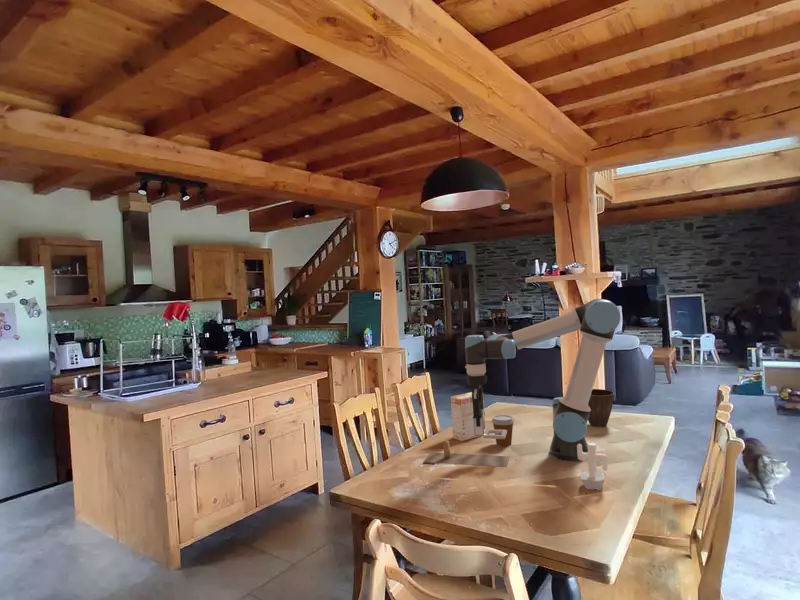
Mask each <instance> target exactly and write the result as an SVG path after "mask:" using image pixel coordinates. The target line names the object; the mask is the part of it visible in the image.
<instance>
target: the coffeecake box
mask: <svg viewBox="0 0 800 600" xmlns="http://www.w3.org/2000/svg"><path fill="white" fill-rule="evenodd" d="M484 396H485V395H484V393H483V407H484V408H485V397H484ZM450 411H451V412H450V415H451V430H452V431H451V433H452V439H454V440H458V441H460V442H463V441H467V440H472V439H473V438H474V439H475V438H478V437H479V436H474V424H473V401H472V391H471V392H466V393H462V394H457V395H453V396H450ZM484 413H485V415H484V419H485V420H486V418H485V416H486V412H485V411H484Z"/></svg>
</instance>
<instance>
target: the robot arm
mask: <svg viewBox="0 0 800 600" xmlns="http://www.w3.org/2000/svg"><path fill="white" fill-rule="evenodd" d="M620 322H621V311H620V309H619V308H618V306H617V304H615V303H614V302H612V301H611V300H608V299H604V298H596V299H592V300H589V301H588V302H586V303H584V304H582V305H579V306H577V307H574V308H573V309H572V311H570V312H567V313H565V314H561V315H558V316H556V317H555V316H554V317H553V318H550V319H547V320H544V321H541V322H537V323H535V324H532V325H529V326H527V327H523V328H521V329H518V330H515V331H513V332H510V333H507V334H501V335H499V336H497V337H496V338H495V339H485V338H484V335H483V334H472V335H471V334H470V335H467V336H465V338H464V345H465V346H464V351H465V363H466V364H465V366H464V368H465V369H466V374H467V375H466V379H467V380H466V381H467V382H466V383H467V385H469V386H472V389H471V392H472V401H473V413H474V417H473V418H475V430H476V434H479V435H483V428H482V418H481V409H484V410H485V406H484V407H483V394H484V388H483V387H482V386H484V385H486V384H487V375H486V373H487V367H486V360H503V359H504V360H508V359H514V358H516V353H517V351H518V350H522V349H525V348H527V347H531V346H533V345H536V344H540V343H542V342H546V341H548V340H552V339H554V338H558V337H560V336H564V335H568V334H571V333H573V332H576V331H579V332H580V333H581V336H582V337H581V340H580V343H579V347H578V350H577V354H576V357H575V361H574V364H573V367H572V371H571V373H570V374H571V375H570V377H569V381H568V385H567V387H566V391H565V394H564V396H560V397H558V396H557V397H554V398H553V399H552V404H551V406H552V429H553V437H552V440H551V443H550V447H549V454H551V456H553V457H556V459H558V460H564V461H580V460H579V459H578V456H577V445H578V444H581V445H582V451H583V452H585V453H588V449H587V444H588V442H587V440H586V438H585V436H586V434H587V431H588V422H589V421H588V418H589V414H590V411H591V409H590V407H589V406H588V403H589V399H590V396H591V393H592V389H594V385H595V383H596V379H597V376H598V372H599V370H600V369H599V368H600V365H601V362H602V359H603V357H604V352H605V350H606V346H607V344H608V343H609V342H610V341H612V340H613V338H614V334H615V332H616V329H617V328H618V326H619V325H620ZM484 415H485V416H486V412H485V413H484Z"/></svg>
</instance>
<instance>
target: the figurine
mask: <svg viewBox="0 0 800 600" xmlns="http://www.w3.org/2000/svg"><path fill="white" fill-rule="evenodd" d="M587 449H588V453H585V452H583V451H582V445H581V444H578V445H577V456H578V459H579V460H578V461H583V462H588V471H582V472H581V476H580V481H581V482H582V484H583V486H584V487H585V489H586V490H593V489H597V490H596V491H601V490H602V489H601V488H602V486H603V484H604V482H605V476H606V475H605V474H606V473H602V472H597V463H601V465H602V471H604V472H606V471H608V470H609V469H608V458H607V457H608V456H607V455H606V454H604V453H597V451H596V450H597V444H596V443H595V442H593V441H589V442H587Z"/></svg>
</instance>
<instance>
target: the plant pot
mask: <svg viewBox="0 0 800 600" xmlns="http://www.w3.org/2000/svg"><path fill="white" fill-rule="evenodd" d="M614 397H615V392H614V391H611V390H610V389H609V390H608V389H601V388H600V389H598V388H597V389H596V388H593V389H592V393H591V396H590V399H589V403H588V406H589V407H590V409H591V411H590V414H589V418H588V421H587V422H588V423H589V425H590V427H594V428H605V427H607V426H608V422H609V420H610V416H611V413H612V408H613V403H614Z"/></svg>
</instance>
